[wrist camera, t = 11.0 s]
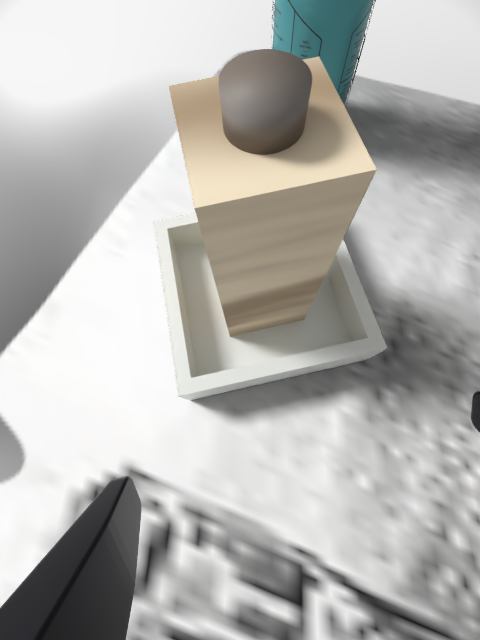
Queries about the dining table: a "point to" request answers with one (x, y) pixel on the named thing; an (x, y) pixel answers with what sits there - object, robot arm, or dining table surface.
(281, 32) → the beverage bottle
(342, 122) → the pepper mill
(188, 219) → the tray
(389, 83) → the dining table surface
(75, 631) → the robot arm
